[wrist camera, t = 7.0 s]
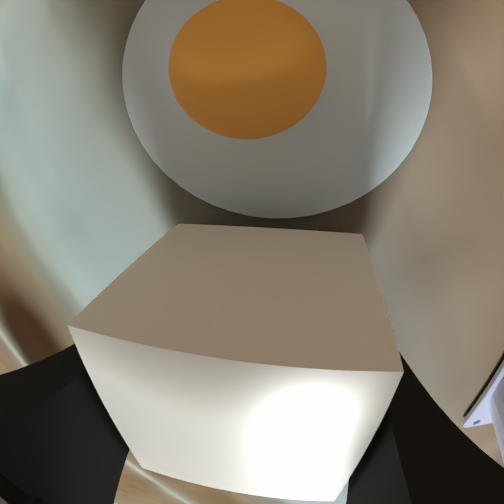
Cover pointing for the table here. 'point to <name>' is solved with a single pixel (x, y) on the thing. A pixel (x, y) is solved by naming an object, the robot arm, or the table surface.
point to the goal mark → (306, 130)
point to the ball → (247, 68)
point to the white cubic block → (245, 358)
